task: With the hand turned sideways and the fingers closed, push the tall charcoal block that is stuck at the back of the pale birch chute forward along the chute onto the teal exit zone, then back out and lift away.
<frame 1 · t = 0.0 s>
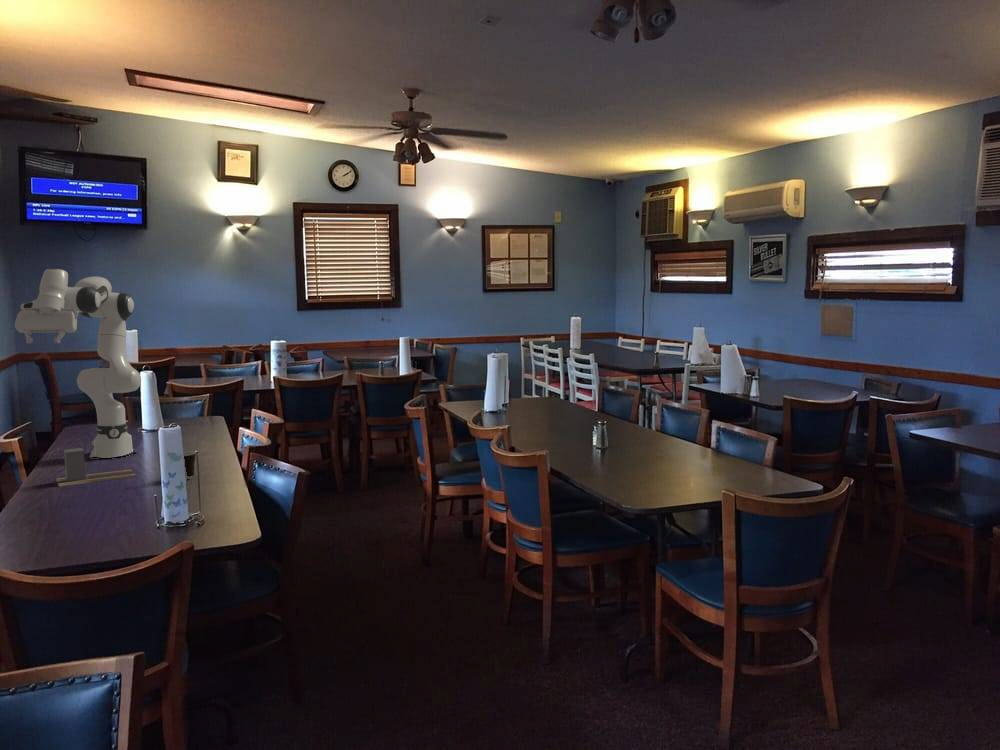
hand: (42, 342, 275), 54 cm above the table, tool tilted 30°, fingers open, 8 cm apart
jammed block: (74, 465, 288), point 7 cm above the table, slide at 0.0 cm
coffee mug: (186, 478, 299), on the table
chute: (96, 482, 292), on the table
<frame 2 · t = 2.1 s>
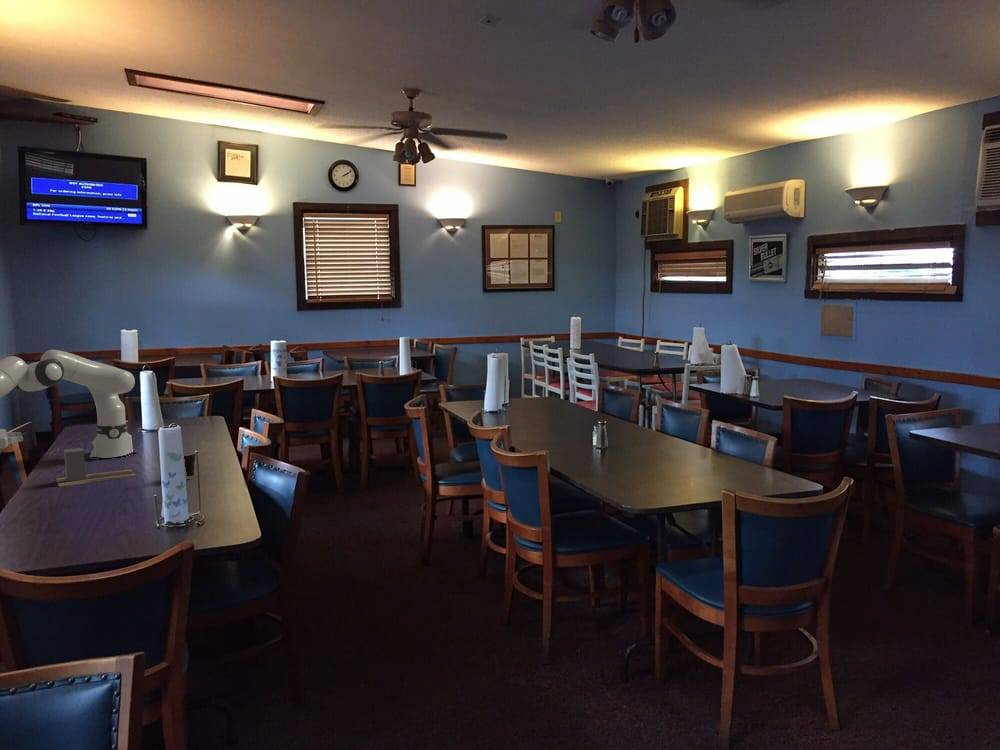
hand: (22, 436, 277), 20 cm above the table, tool horizontal, fingers open, 7 cm apart
nothing on the table moved.
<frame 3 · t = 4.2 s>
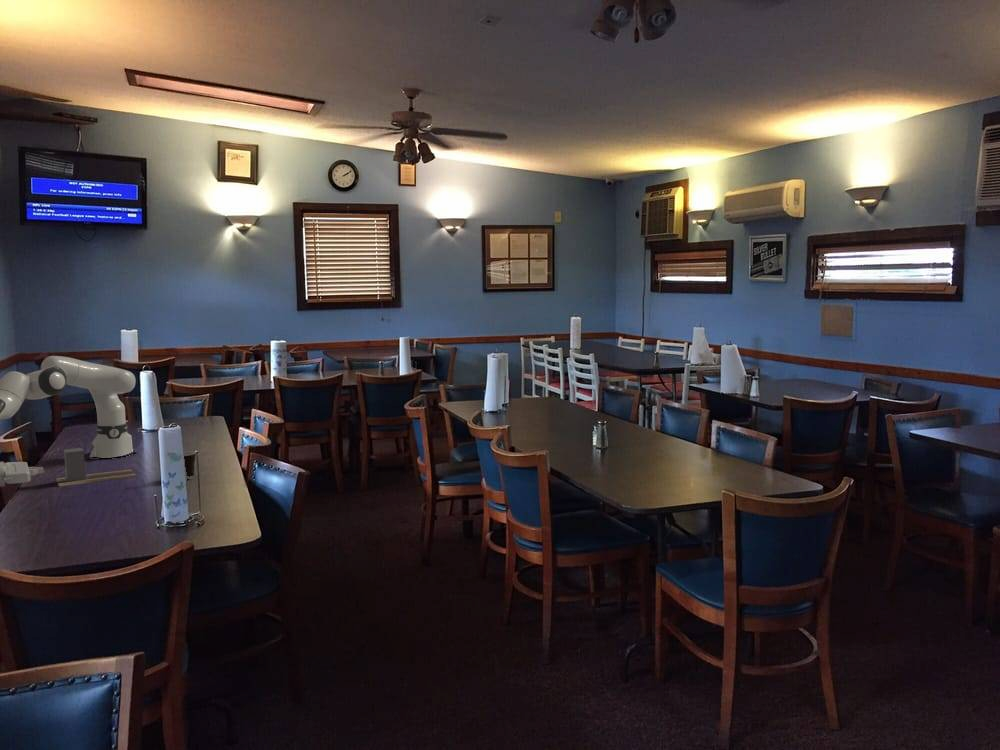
hand: (43, 469, 282), 7 cm above the table, tool horizontal, fingers closed
nothing on the table moved.
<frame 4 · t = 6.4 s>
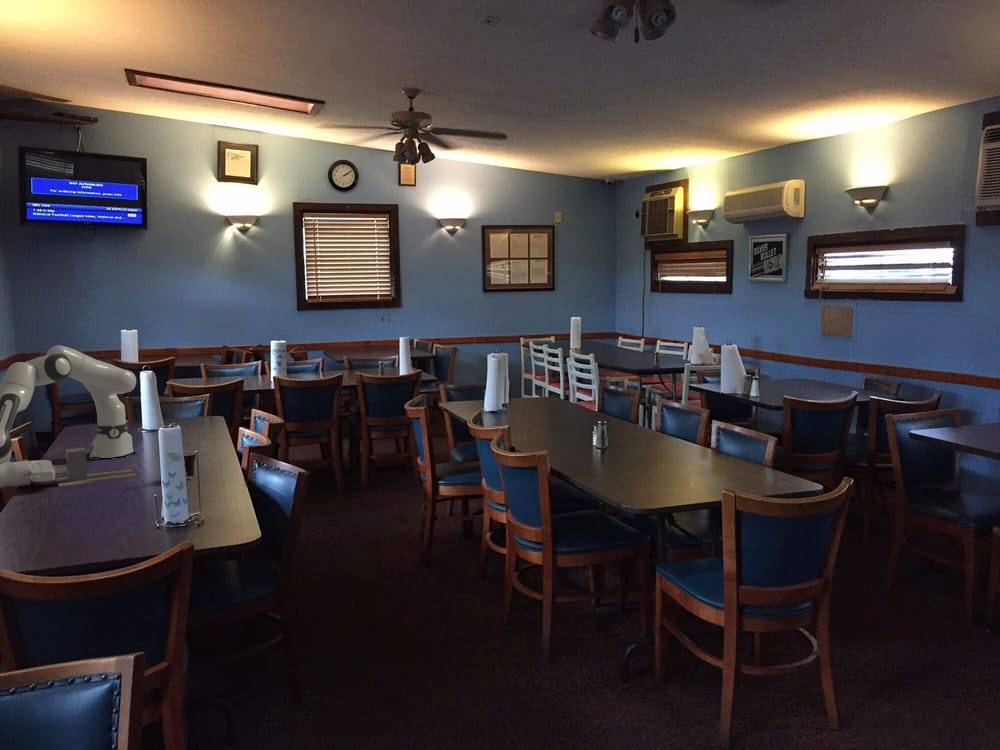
hand: (67, 467, 286), 7 cm above the table, tool horizontal, fingers closed, pressing on jammed block
jammed block: (76, 465, 288), point 7 cm above the table, slide at 0.6 cm, touching gripper
everything else where it was.
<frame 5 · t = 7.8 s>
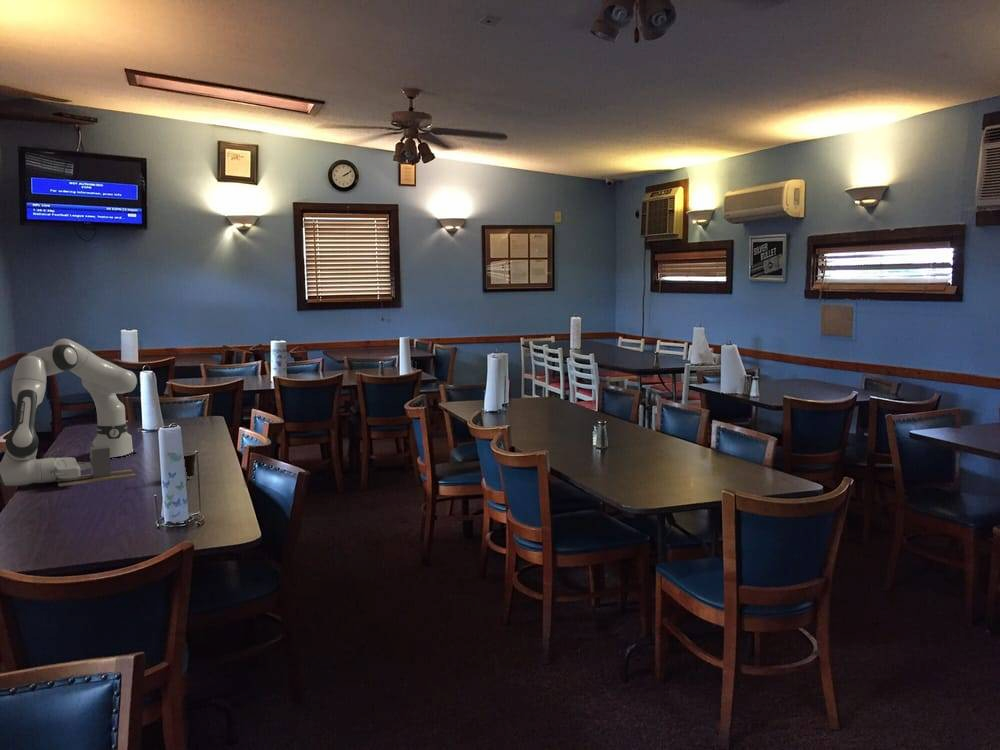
hand: (91, 465, 291), 7 cm above the table, tool horizontal, fingers closed, pressing on jammed block
jammed block: (100, 462, 292), point 7 cm above the table, slide at 8.7 cm, touching gripper
everything else where it was.
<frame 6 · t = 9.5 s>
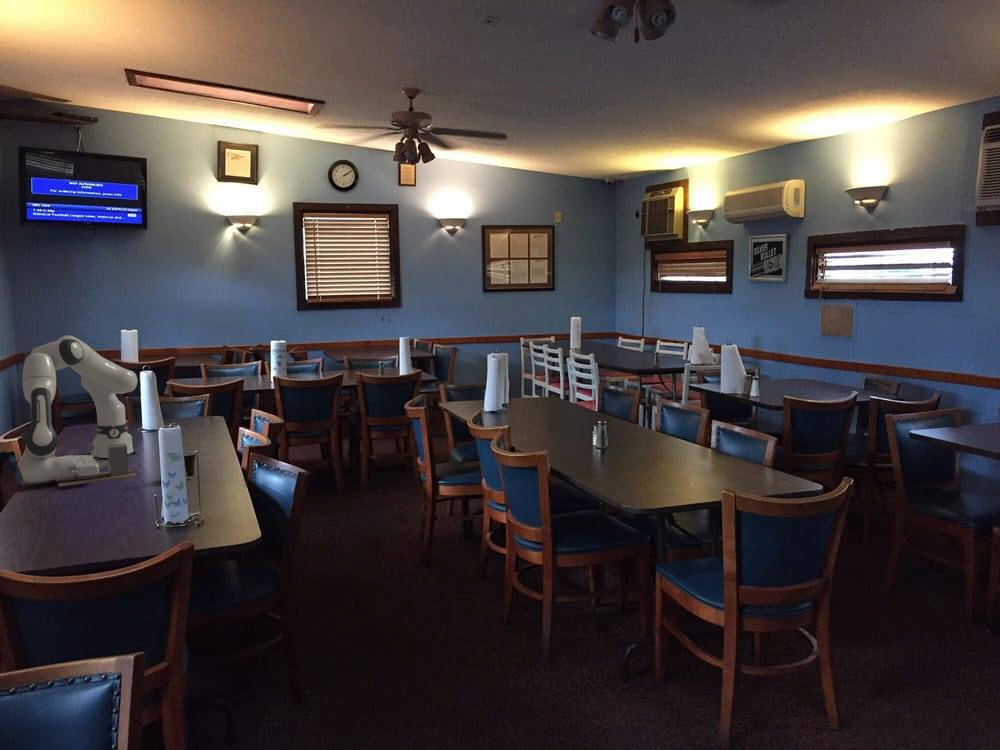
hand: (109, 462, 294), 7 cm above the table, tool horizontal, fingers closed, pressing on jammed block
jammed block: (118, 460, 296), point 7 cm above the table, slide at 14.7 cm, touching gripper
everything else where it was.
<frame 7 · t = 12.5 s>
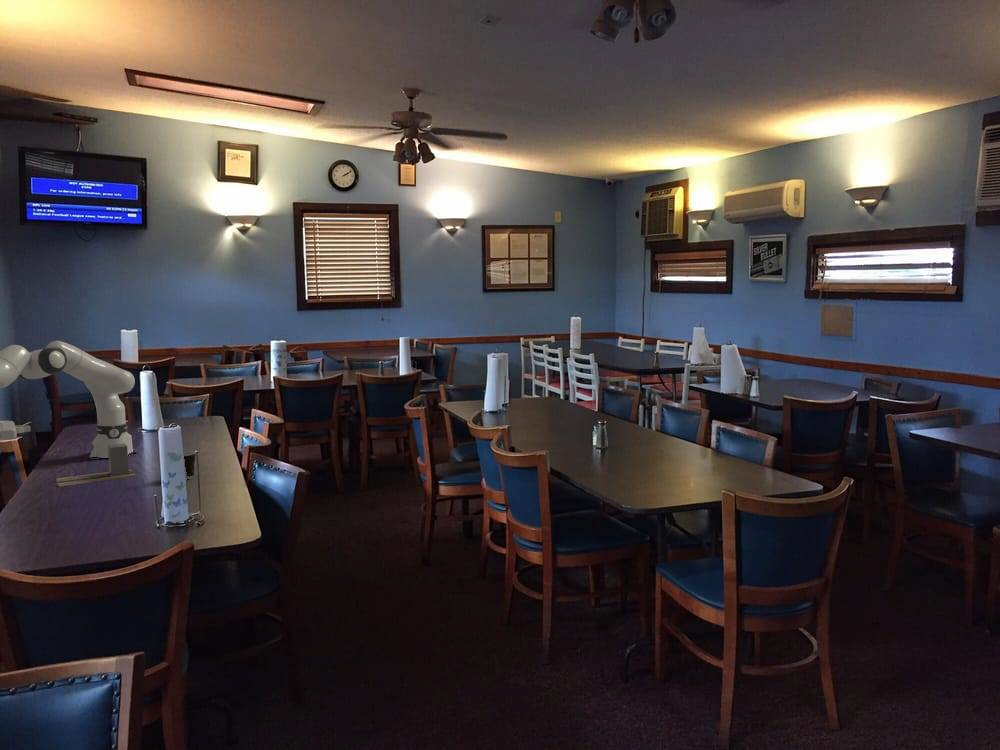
hand: (30, 428, 278), 23 cm above the table, tool horizontal, fingers closed
jammed block: (118, 460, 296), point 7 cm above the table, slide at 14.8 cm
everything else where it was.
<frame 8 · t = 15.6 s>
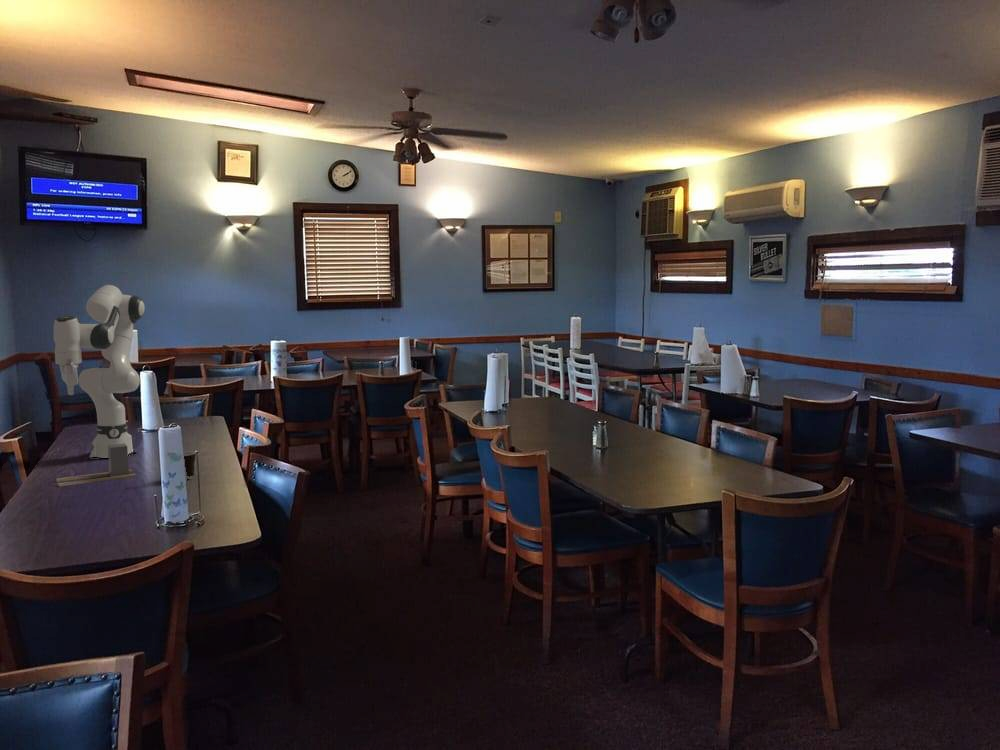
hand: (70, 394, 293), 33 cm above the table, tool pointing down, fingers closed
nothing on the table moved.
at the end: jammed block slide at 14.8 cm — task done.
